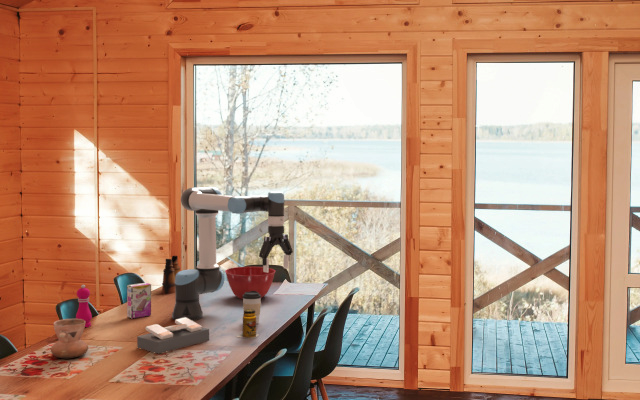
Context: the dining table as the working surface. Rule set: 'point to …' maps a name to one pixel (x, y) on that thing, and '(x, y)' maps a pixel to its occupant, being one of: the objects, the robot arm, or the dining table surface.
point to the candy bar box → (138, 300)
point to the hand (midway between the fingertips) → (276, 270)
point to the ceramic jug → (69, 338)
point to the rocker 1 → (159, 331)
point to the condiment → (249, 324)
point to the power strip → (172, 340)
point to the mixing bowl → (249, 280)
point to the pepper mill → (84, 306)
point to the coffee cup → (252, 302)
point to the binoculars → (170, 275)
